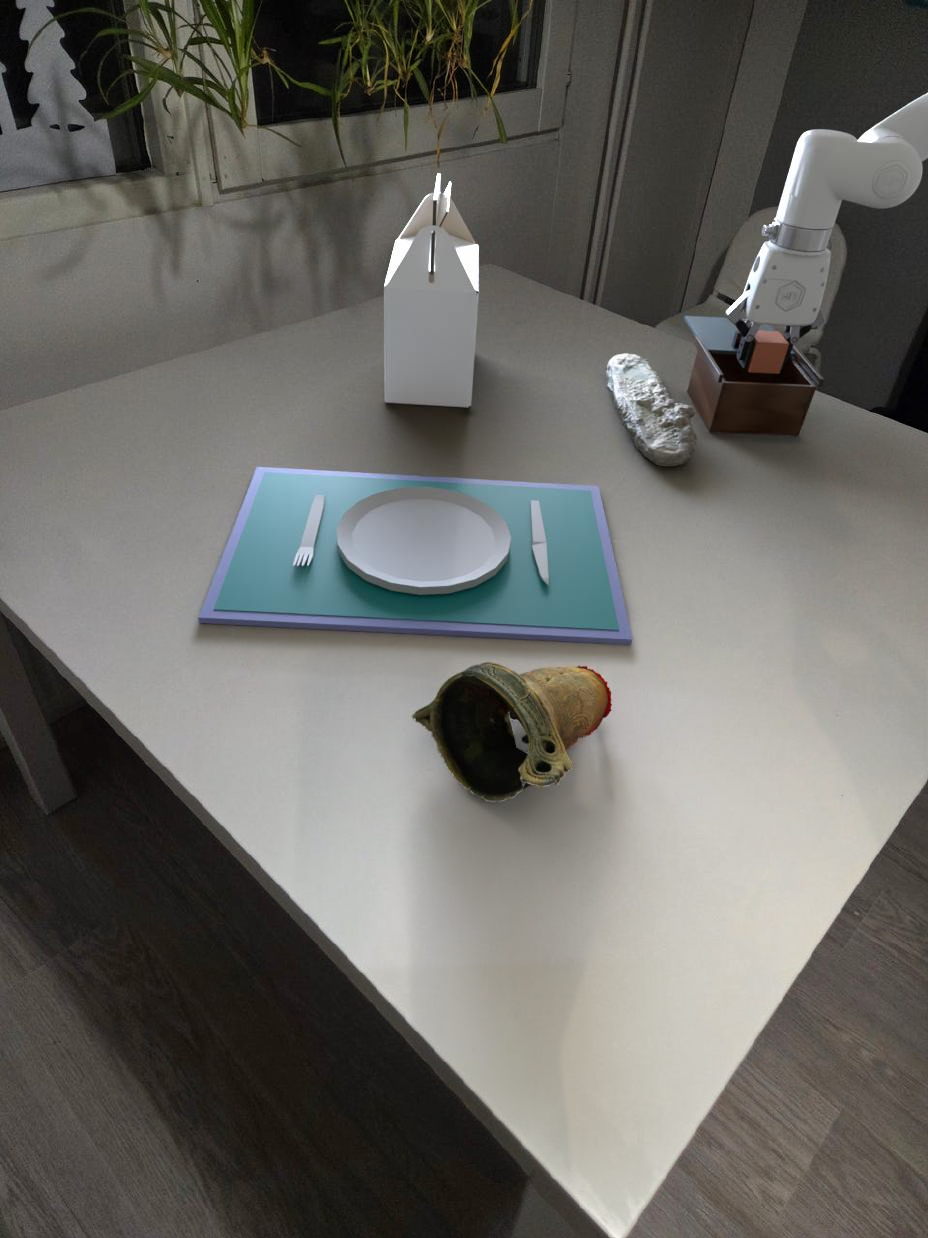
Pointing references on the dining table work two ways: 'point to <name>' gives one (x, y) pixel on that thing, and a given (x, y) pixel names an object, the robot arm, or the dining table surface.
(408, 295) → the gable box
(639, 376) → the elongated rock
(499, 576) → the place mat
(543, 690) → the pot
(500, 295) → the dining table surface
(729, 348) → the knobbed box lid
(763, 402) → the brown storage box
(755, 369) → the block
